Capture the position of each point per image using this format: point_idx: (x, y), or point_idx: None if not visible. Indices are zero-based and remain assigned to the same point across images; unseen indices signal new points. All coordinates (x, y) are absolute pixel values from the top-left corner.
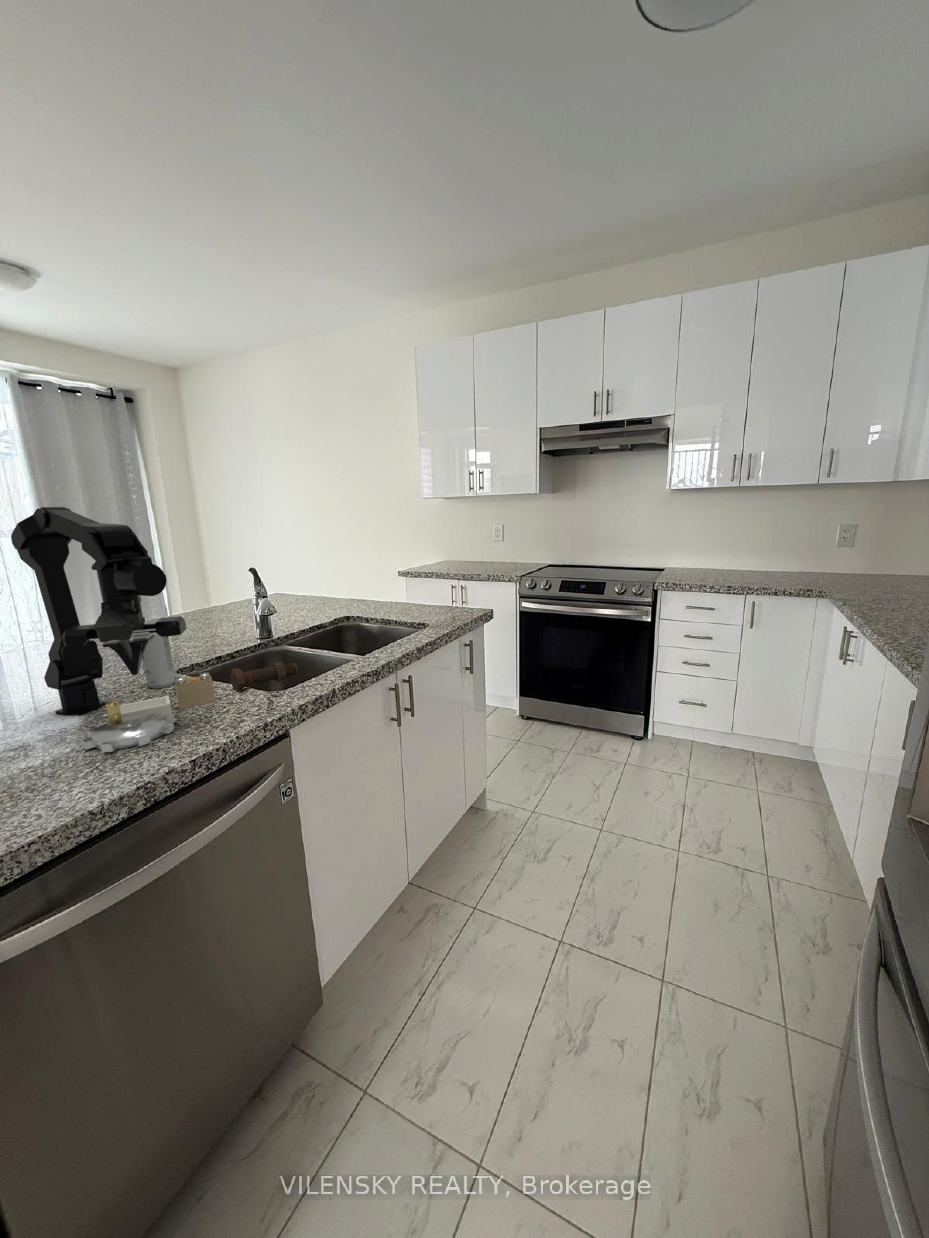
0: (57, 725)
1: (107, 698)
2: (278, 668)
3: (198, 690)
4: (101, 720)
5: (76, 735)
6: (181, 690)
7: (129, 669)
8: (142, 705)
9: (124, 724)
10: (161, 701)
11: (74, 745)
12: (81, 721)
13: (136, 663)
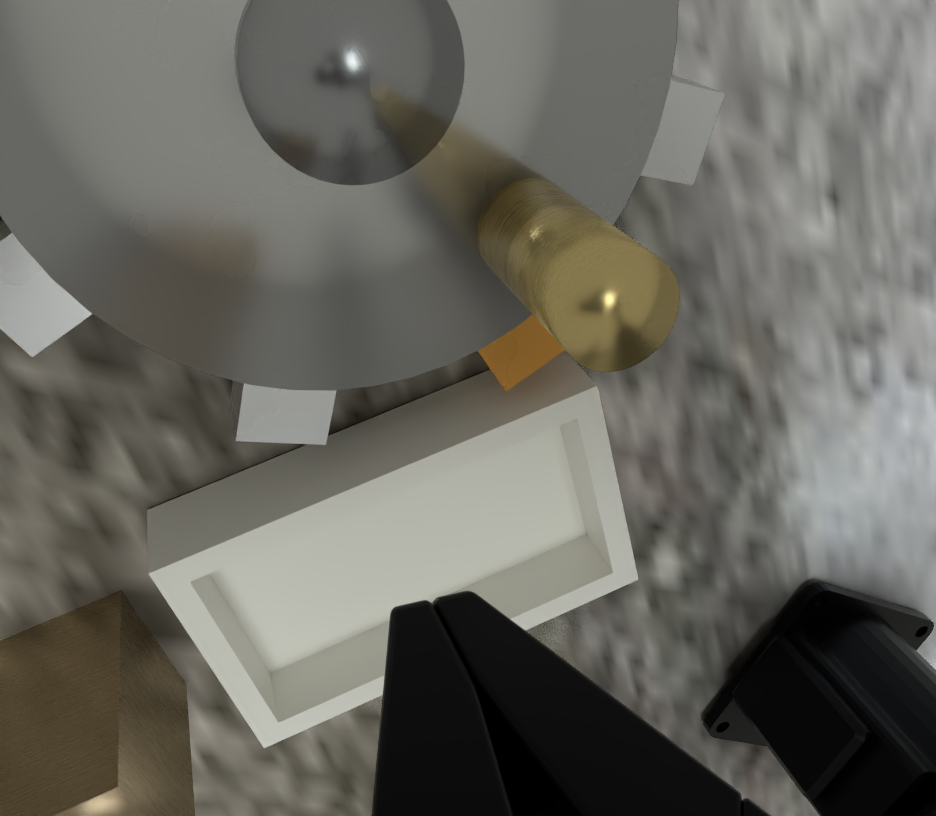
0: (901, 452)
1: None
2: None
3: None
4: (672, 479)
5: (778, 234)
6: (71, 750)
7: (537, 651)
8: None
9: (398, 36)
10: (307, 682)
11: (760, 3)
12: (785, 487)
13: (415, 780)
